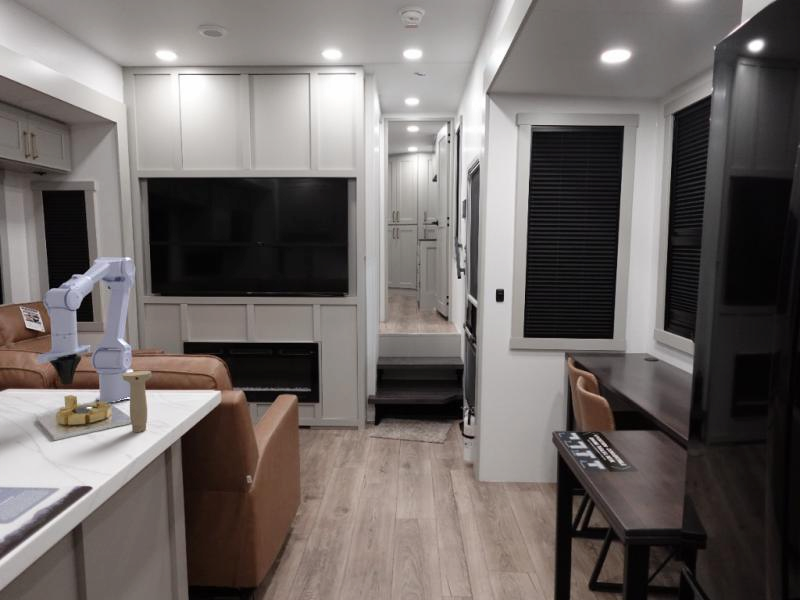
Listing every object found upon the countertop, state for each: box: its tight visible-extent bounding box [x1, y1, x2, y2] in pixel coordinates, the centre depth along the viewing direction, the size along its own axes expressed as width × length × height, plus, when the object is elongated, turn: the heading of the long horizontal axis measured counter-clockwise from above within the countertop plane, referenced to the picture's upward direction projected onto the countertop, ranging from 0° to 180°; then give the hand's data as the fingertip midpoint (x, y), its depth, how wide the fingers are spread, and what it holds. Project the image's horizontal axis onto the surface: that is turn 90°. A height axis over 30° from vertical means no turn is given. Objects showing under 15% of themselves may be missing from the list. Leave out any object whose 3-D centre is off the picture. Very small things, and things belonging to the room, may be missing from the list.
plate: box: [35, 403, 131, 441], centre depth 134 cm, size 18×20×4 cm
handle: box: [123, 370, 152, 433], centre depth 128 cm, size 5×6×15 cm
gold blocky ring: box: [55, 394, 112, 425], centre depth 135 cm, size 14×12×5 cm
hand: (66, 383), depth 134 cm, fingers closed
